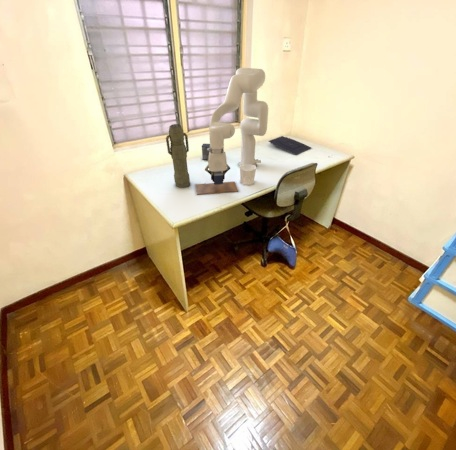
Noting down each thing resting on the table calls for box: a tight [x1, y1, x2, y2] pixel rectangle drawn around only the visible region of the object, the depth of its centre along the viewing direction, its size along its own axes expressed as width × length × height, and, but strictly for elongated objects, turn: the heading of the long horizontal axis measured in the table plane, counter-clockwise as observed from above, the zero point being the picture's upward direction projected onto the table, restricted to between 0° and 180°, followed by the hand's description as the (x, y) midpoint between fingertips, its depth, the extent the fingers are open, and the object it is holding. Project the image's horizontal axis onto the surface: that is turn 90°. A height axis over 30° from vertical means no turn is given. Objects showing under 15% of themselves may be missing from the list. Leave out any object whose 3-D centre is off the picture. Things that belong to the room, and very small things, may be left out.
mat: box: [195, 181, 239, 196], centre depth 150 cm, size 24×12×1 cm, turn 101°
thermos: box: [165, 123, 191, 189], centre depth 143 cm, size 9×12×35 cm
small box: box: [201, 143, 210, 161], centre depth 185 cm, size 11×6×10 cm, turn 84°
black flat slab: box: [268, 135, 312, 156], centre depth 210 cm, size 24×30×4 cm
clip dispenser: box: [213, 171, 224, 185], centre depth 146 cm, size 5×8×6 cm, turn 11°
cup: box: [239, 164, 257, 186], centre depth 154 cm, size 10×10×10 cm
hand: (217, 180), depth 147 cm, fingers closed on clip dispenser, 5 cm apart
